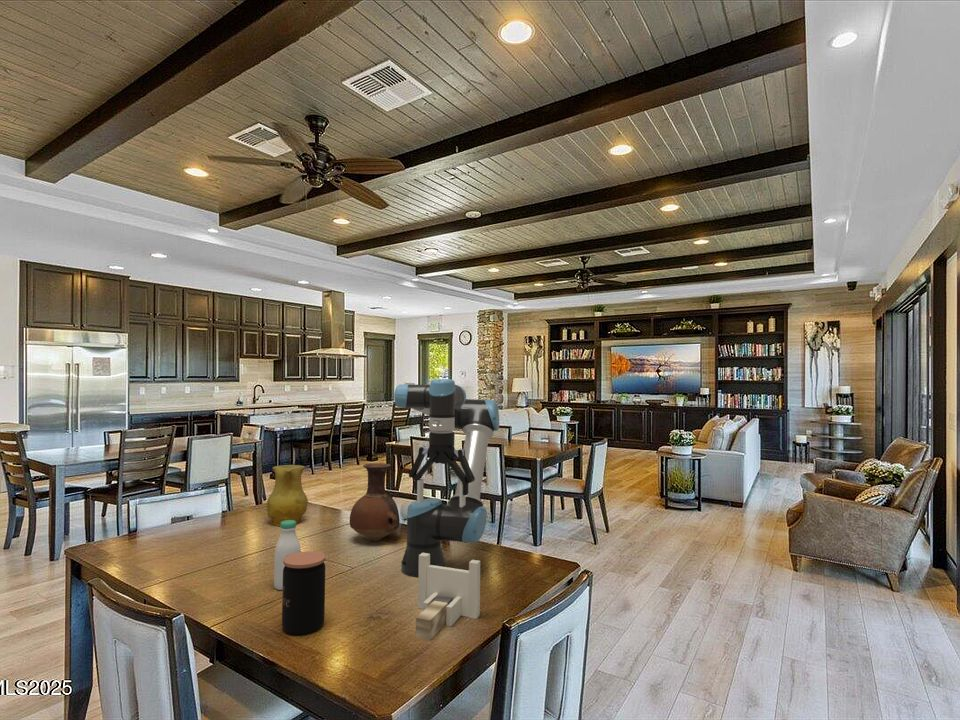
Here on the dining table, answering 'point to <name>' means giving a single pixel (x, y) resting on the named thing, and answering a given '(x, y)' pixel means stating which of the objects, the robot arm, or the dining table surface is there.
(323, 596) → the coffee jar
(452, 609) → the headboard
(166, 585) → the dining table surface
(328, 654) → the dining table surface
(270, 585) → the dining table surface
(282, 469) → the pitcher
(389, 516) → the vase
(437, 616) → the beige wooden block
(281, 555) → the milk bottle
